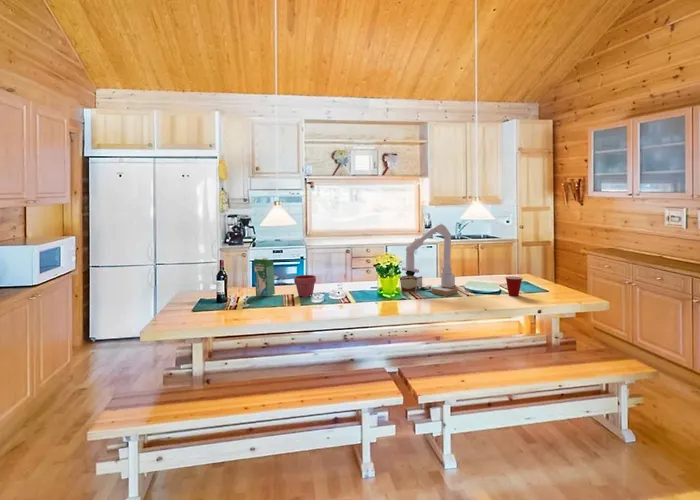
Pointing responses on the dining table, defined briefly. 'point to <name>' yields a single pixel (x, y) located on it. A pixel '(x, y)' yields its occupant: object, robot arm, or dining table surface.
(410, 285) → the food container
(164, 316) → the dining table surface
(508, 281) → the plastic cup
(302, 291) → the plant pot
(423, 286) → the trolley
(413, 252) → the robot arm
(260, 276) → the milk carton
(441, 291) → the dock
